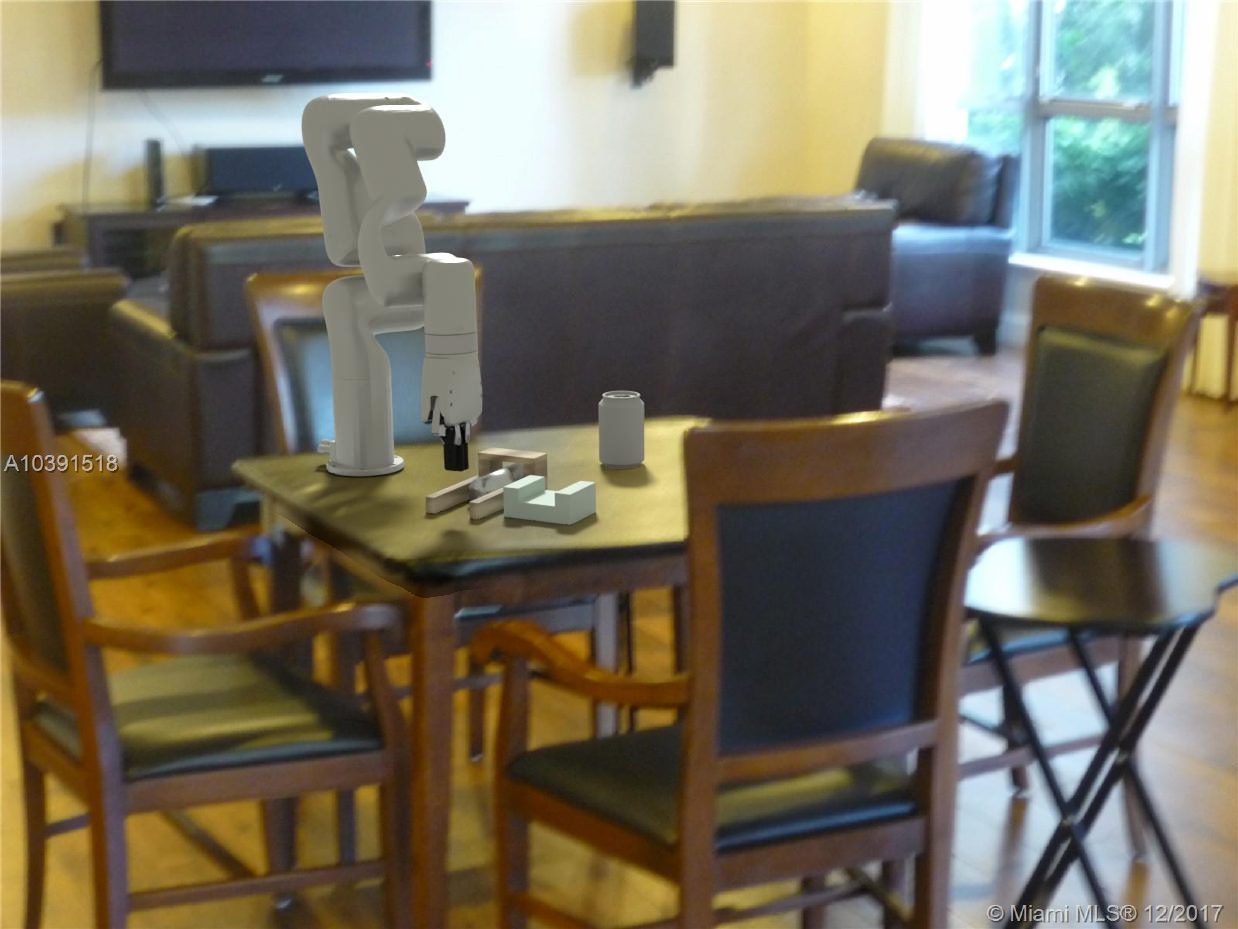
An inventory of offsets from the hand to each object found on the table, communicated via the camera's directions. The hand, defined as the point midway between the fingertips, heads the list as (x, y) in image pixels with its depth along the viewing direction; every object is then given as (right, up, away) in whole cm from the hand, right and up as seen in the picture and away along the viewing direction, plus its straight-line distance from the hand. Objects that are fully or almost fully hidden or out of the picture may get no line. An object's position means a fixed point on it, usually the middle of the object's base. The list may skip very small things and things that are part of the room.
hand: (456, 469), depth 249 cm
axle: (+5, -4, +13) cm, 14 cm away
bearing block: (+4, -5, +10) cm, 12 cm away
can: (+24, +1, +33) cm, 41 cm away
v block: (+14, -7, +2) cm, 15 cm away
